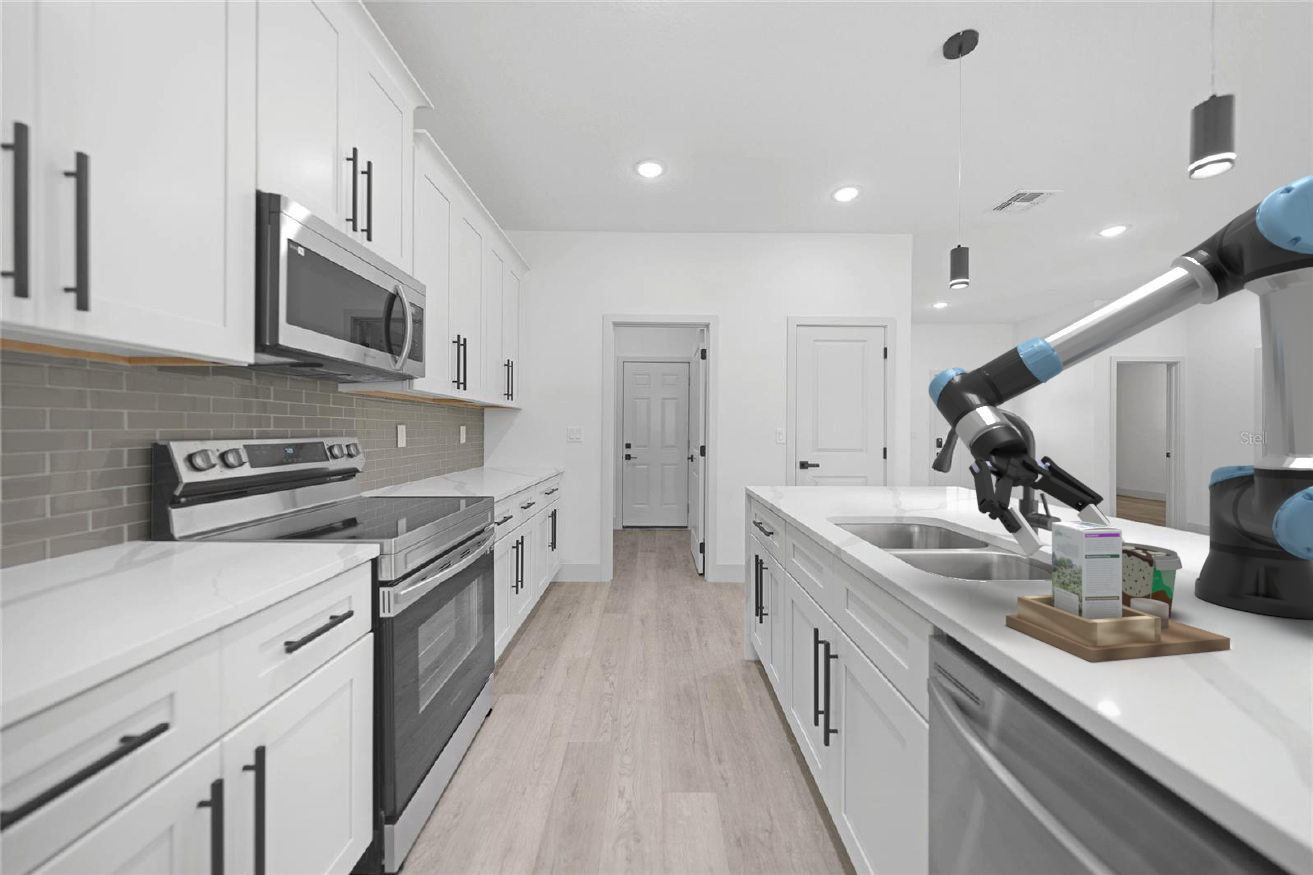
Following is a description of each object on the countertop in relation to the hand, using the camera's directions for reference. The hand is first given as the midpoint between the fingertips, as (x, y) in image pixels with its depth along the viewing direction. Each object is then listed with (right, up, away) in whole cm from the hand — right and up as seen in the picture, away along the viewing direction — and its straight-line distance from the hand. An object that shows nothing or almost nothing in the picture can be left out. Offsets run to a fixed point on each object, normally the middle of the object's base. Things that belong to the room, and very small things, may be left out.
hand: (1076, 548), depth 75 cm
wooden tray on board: (+5, -12, 0) cm, 13 cm away
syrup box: (+1, -11, -1) cm, 11 cm away
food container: (+21, -13, +11) cm, 27 cm away
